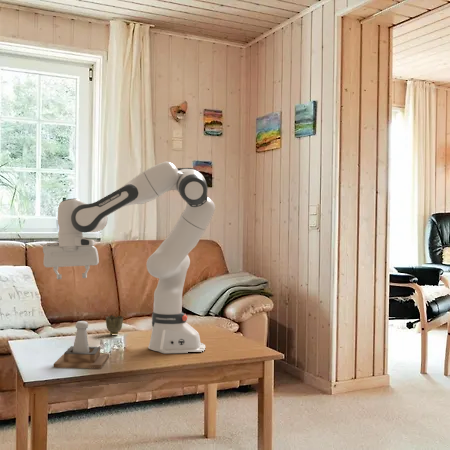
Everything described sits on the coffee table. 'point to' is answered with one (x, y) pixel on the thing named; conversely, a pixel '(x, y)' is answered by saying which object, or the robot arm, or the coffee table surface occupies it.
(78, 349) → the salt shaker
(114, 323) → the cup
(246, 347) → the coffee table surface
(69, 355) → the stepped wooden plinth
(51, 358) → the coffee table surface
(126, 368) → the coffee table surface
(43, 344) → the coffee table surface
